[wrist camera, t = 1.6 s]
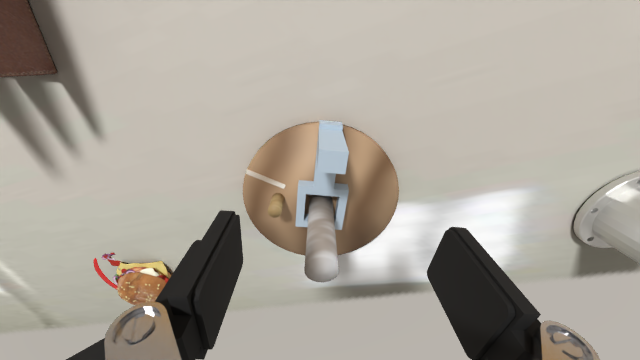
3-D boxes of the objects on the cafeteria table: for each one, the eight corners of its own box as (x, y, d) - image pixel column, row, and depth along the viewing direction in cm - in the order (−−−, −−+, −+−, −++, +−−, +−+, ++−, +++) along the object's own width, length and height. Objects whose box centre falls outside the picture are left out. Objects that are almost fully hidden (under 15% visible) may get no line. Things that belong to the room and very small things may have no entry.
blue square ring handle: (340, 222, 31) (346, 267, 25) (296, 219, 31) (290, 263, 24) (358, 123, 25) (372, 148, 18) (302, 118, 24) (296, 141, 18)
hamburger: (169, 237, 35) (143, 269, 30) (194, 296, 42) (176, 331, 36) (77, 239, 35) (35, 271, 30) (117, 297, 42) (88, 333, 36)
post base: (415, 130, 27) (479, 180, 16) (377, 255, 36) (402, 339, 25) (240, 113, 26) (184, 154, 15) (249, 245, 35) (218, 329, 24)
